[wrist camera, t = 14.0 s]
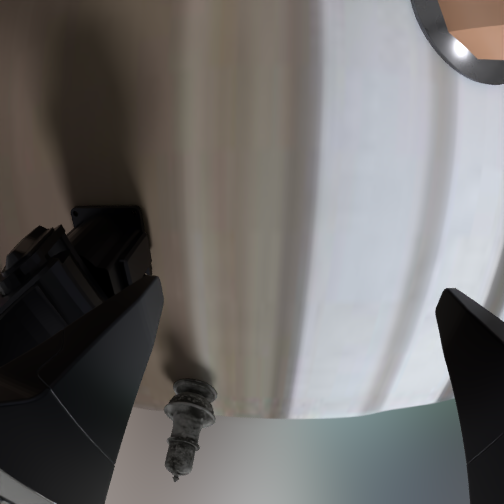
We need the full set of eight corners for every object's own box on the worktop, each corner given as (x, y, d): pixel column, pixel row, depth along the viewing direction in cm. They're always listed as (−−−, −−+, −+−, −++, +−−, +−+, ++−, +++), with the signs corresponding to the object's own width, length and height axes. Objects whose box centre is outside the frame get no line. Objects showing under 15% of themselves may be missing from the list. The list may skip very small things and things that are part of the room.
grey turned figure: (175, 400, 36) (154, 483, 25) (167, 374, 33) (139, 466, 22) (221, 406, 35) (207, 493, 25) (218, 380, 32) (200, 479, 22)
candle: (409, 61, 15) (443, 59, 11) (403, -68, 10) (429, -92, 6) (522, 101, 15) (561, 113, 11) (519, -14, 9) (553, -19, 5)
